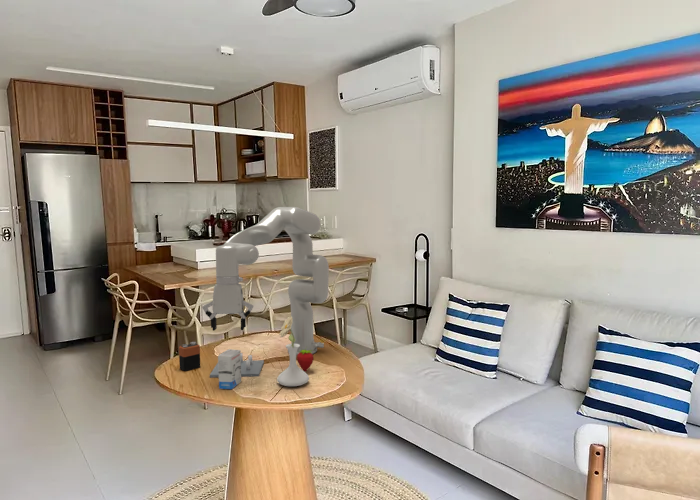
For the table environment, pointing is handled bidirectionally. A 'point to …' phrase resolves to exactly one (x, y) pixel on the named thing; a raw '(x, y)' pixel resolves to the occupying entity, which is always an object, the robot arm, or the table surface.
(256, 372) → the pin tray
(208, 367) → the table surface
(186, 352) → the battery
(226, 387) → the ink box
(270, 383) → the table surface
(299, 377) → the flower in vase
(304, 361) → the strawberry
